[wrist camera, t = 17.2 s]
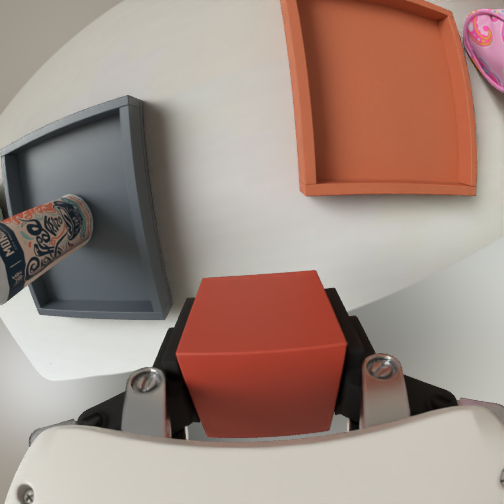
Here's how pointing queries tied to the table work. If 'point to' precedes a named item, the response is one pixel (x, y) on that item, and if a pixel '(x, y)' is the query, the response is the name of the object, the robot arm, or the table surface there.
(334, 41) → the terracotta tray
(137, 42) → the table surface
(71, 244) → the beer can
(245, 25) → the table surface
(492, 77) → the pencil case
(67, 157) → the grey tray
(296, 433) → the red block
